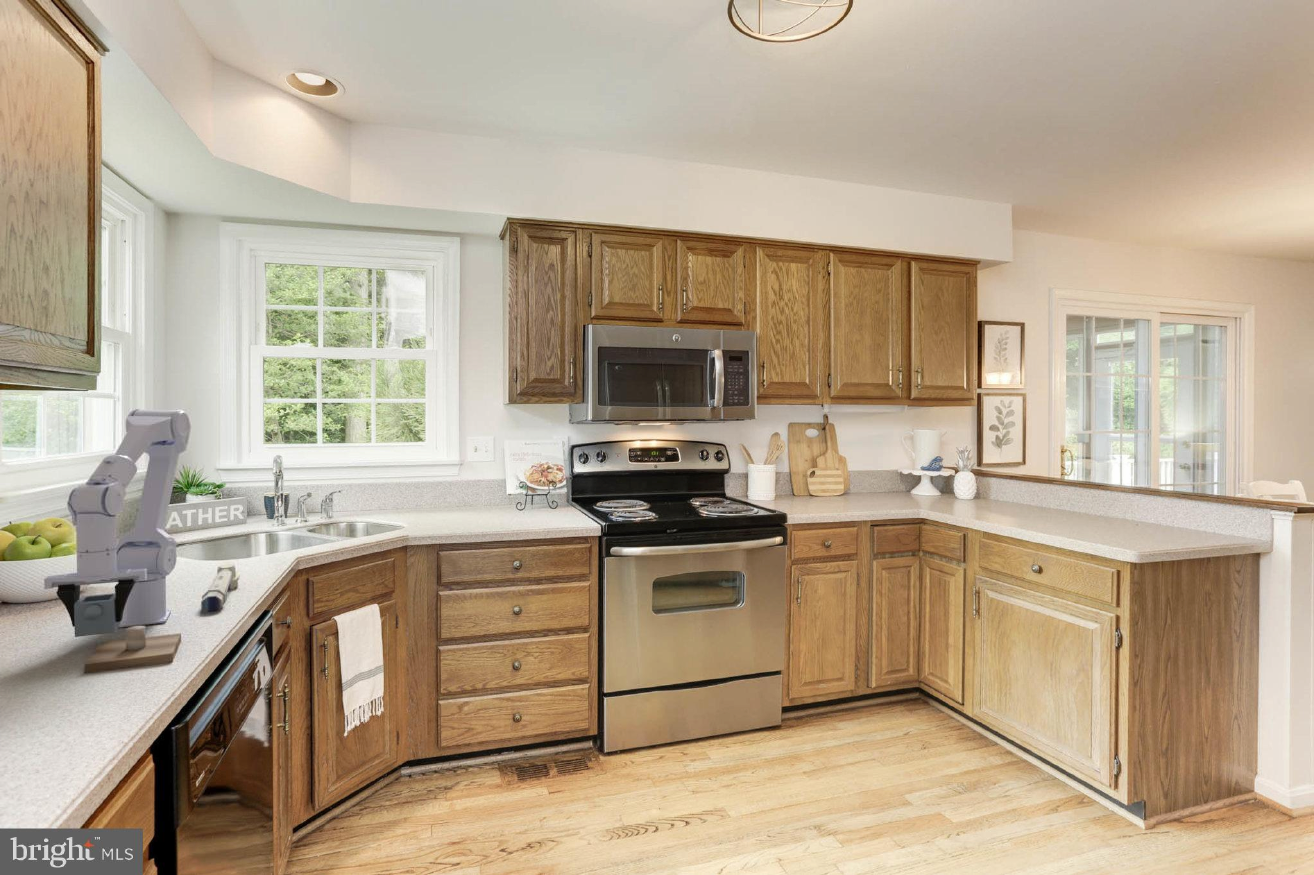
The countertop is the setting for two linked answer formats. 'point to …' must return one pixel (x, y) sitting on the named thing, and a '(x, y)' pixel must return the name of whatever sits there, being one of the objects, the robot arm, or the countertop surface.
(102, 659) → the base
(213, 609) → the beige flashlight
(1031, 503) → the countertop surface
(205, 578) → the countertop surface
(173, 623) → the countertop surface
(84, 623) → the duct sleeve
